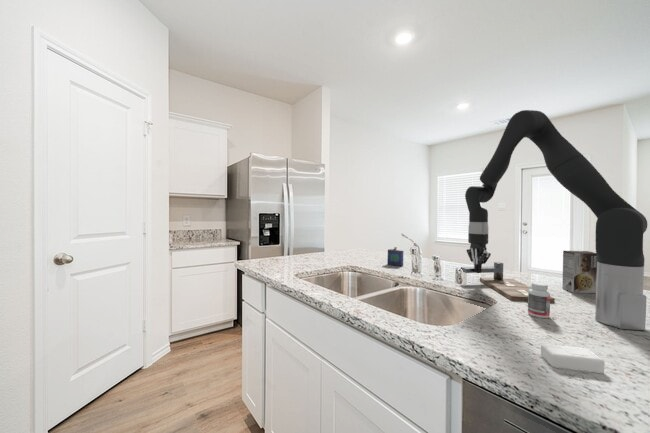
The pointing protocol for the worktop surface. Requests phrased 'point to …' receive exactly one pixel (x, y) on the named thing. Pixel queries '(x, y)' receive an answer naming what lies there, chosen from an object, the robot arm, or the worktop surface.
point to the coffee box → (579, 271)
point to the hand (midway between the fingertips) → (477, 272)
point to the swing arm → (488, 270)
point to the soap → (572, 358)
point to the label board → (510, 288)
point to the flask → (395, 257)
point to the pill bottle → (539, 300)
